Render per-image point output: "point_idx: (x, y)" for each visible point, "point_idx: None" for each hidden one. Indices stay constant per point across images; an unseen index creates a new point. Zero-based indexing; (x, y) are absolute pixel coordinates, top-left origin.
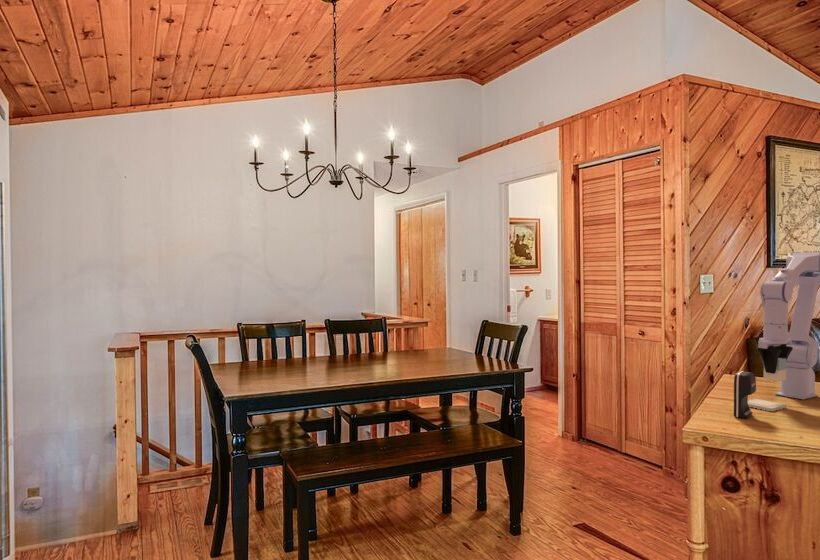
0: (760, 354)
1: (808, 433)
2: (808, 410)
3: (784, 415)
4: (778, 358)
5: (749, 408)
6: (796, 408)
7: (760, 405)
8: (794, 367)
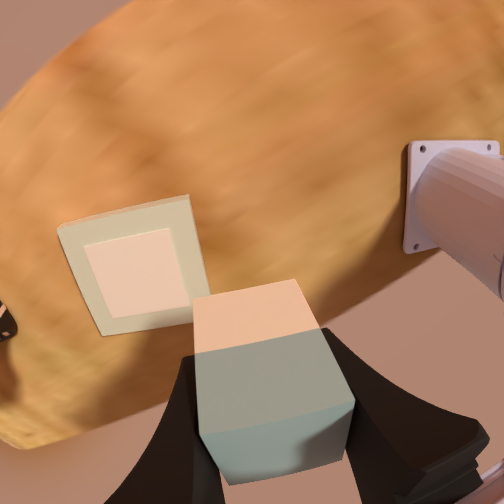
0: (127, 476)
1: (56, 435)
2: None
3: (112, 363)
4: (292, 460)
5: (8, 330)
6: None
7: (95, 295)
8: (501, 282)
